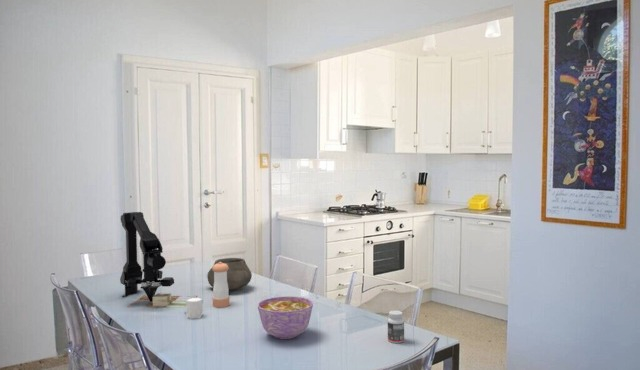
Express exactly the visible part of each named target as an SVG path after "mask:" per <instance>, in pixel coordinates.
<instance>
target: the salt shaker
mask: <svg viewBox="0 0 640 370" xmlns="http://www.w3.org/2000/svg"><path fill="white" fill-rule="evenodd" d="M211 268H212V270H213V271H214V287H212V291H213V292H212V293H213V295H212V296H213V297H212V307H213V308H227V307H229V306H230V299H231V298H230V296H229V292H230V291H229V289H228V283H227V271H228V265H227V264H224V263H222V262H219V263H218V264H215V265H214V264H213V265H212V266H211Z"/></svg>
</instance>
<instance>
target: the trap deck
mask: <svg viewBox="0 0 640 370" xmlns="http://www.w3.org/2000/svg"><path fill="white" fill-rule="evenodd" d="M180 297H181V295H171V303H170V304H169V305H168V306H153V301H152V302H150V300H149V298H148V297H147V295H142V296H141V297H139V298H138V299H136V300H135V301H134V302H132V303H131V304H129V305H127V308H130V307H131V306H132V305H133V304H135V303H137V302H139V303H140V302H142V303H143V302H148V303H149V302H150V303H149V304H147V305H146V306H145V308H186V300H178V299H180ZM194 298H198V295H195V296H194Z"/></svg>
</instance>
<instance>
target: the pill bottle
mask: <svg viewBox="0 0 640 370" xmlns="http://www.w3.org/2000/svg"><path fill="white" fill-rule="evenodd" d="M403 315H404V314H403V311H400V310H390V311H389V312H388V317H389V318H387V341H388V342H390V343H393V344H401V343H403V342H404V341H405V320H404V318H403Z"/></svg>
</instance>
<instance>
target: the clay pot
mask: <svg viewBox="0 0 640 370" xmlns="http://www.w3.org/2000/svg"><path fill="white" fill-rule="evenodd" d="M219 262H222V263H224V264H227V265H228V271H227V283H228V289H229V292H234V291H239V290H242V289H244V288H245V287H247V285H249V284H250V282H251V280H252V275H253V274H252V271H251V270H250V268H249V267H248V264H247V263H246V261H245V259H244V258H241V257H225V258H218V259H216V260H215V262H214V263H213V265H215V264H218V263H219ZM206 278H207V281H208V282H207V283H208V285H210V286H211V287H212V288H213V287H214V271H213V270H212V267H211V268H210V269H209V270H208V272H207V277H206Z"/></svg>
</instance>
